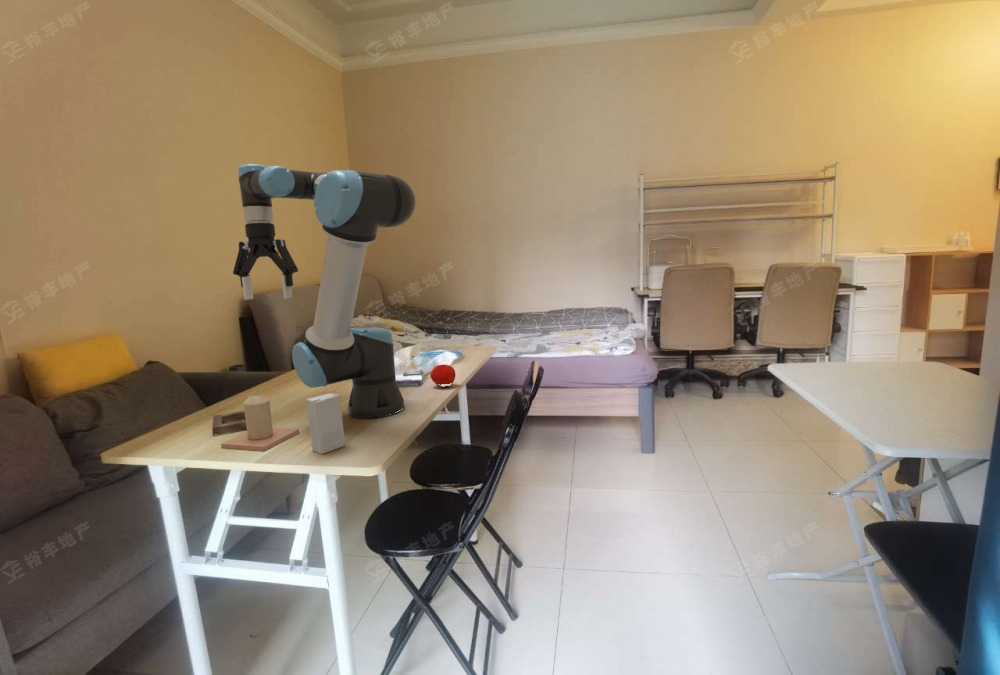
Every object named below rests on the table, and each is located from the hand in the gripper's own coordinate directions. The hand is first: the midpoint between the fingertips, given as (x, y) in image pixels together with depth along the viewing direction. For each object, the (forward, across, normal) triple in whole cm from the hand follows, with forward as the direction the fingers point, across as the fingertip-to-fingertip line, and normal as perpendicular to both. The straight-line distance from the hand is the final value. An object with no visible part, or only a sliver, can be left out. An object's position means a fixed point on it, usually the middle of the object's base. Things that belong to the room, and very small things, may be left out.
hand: (268, 298), depth 144 cm
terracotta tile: (+32, -16, +26) cm, 44 cm away
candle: (+31, -16, +26) cm, 43 cm away
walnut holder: (+32, -1, +17) cm, 36 cm away
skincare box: (+32, -36, +28) cm, 56 cm away
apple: (+32, -41, -26) cm, 58 cm away
